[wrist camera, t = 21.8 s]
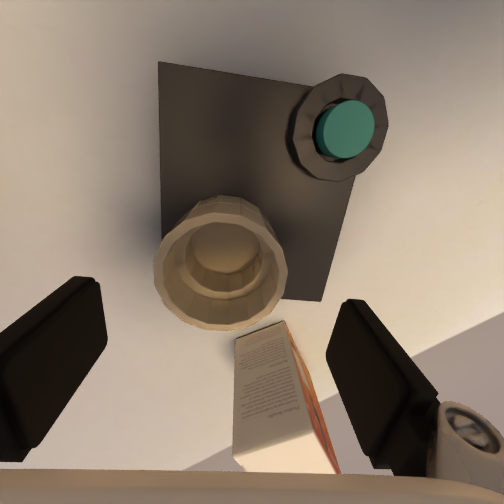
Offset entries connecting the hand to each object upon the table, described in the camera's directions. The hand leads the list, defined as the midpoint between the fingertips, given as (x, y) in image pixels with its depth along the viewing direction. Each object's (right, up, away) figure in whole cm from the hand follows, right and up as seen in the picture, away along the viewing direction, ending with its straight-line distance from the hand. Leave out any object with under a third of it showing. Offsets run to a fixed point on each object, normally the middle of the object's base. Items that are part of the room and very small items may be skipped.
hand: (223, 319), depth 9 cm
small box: (+3, -8, +16) cm, 19 cm away
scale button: (+7, +10, +6) cm, 14 cm away
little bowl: (-1, +4, +10) cm, 10 cm away
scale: (+1, +7, +10) cm, 12 cm away
